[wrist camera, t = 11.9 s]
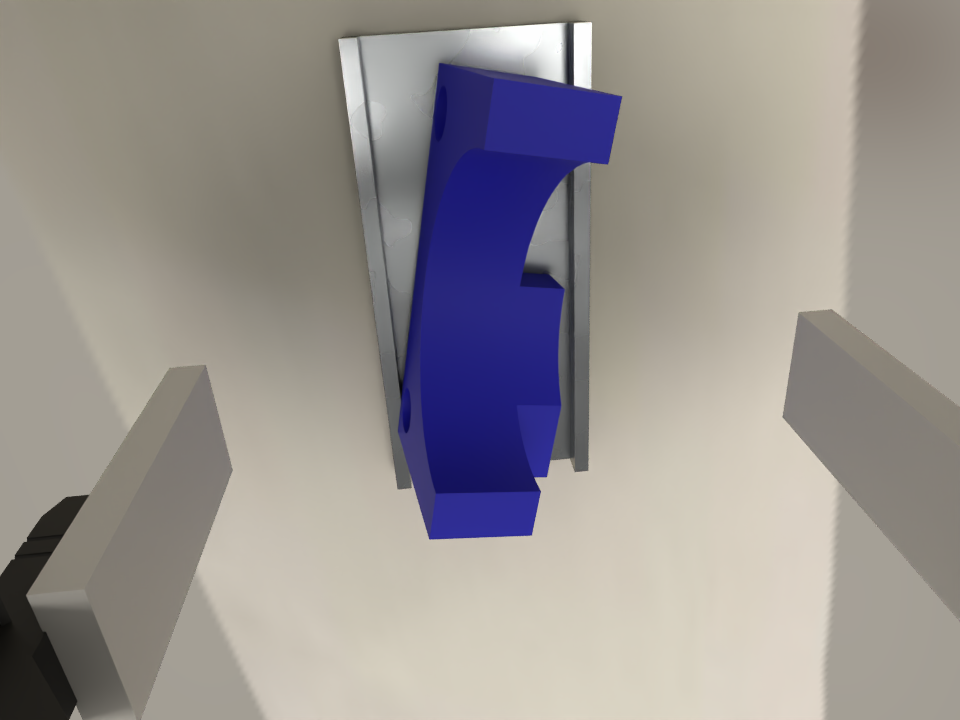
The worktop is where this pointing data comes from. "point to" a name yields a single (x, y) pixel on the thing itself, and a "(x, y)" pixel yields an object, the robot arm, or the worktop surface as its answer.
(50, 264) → the worktop surface
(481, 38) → the rail
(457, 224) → the cable clip
